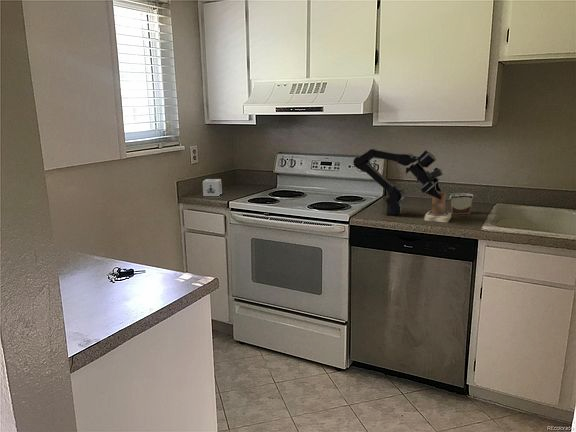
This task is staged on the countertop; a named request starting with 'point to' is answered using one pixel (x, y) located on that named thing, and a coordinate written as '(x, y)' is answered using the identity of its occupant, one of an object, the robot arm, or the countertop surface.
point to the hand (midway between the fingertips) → (442, 197)
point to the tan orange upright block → (439, 204)
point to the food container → (461, 203)
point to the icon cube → (212, 187)
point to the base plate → (438, 217)
